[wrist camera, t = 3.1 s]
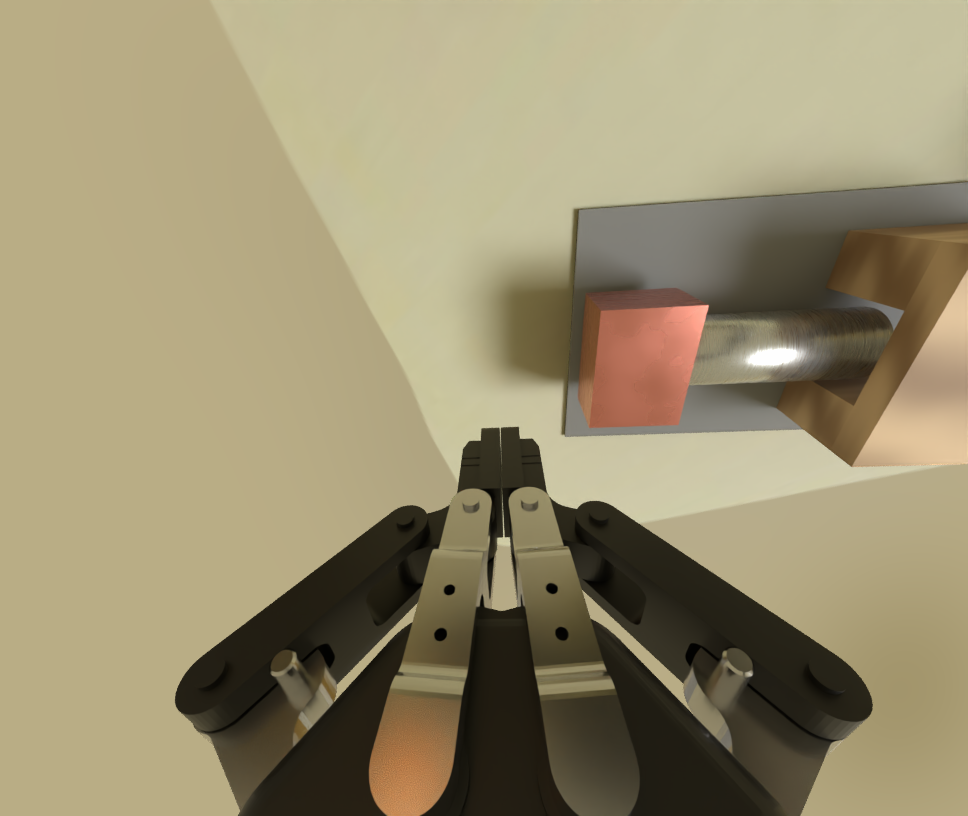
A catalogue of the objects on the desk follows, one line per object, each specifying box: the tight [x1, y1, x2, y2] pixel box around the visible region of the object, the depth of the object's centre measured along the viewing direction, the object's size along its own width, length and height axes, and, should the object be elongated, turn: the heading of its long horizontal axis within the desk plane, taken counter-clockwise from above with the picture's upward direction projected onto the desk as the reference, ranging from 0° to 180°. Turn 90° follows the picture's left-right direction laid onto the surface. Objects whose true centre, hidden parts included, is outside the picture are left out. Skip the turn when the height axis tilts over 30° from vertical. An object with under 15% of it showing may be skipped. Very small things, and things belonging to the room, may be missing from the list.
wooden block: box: [776, 223, 968, 467], centre depth 19 cm, size 11×7×6 cm, turn 4°
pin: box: [577, 288, 894, 428], centre depth 21 cm, size 15×7×5 cm, turn 94°
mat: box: [565, 182, 968, 437], centre depth 23 cm, size 15×22×1 cm
